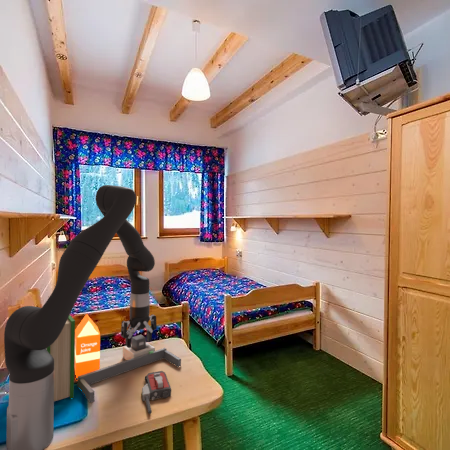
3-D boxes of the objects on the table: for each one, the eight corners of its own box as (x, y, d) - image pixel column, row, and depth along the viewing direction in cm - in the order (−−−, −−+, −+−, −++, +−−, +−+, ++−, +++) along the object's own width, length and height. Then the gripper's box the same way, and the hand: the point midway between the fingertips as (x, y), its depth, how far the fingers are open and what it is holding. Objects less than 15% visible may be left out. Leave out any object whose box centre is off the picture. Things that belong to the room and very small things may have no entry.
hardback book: (73, 398, 91) (75, 320, 90) (45, 407, 86) (47, 325, 86) (61, 374, 105) (62, 306, 104) (37, 381, 100) (38, 310, 99)
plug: (136, 361, 115) (136, 340, 115) (131, 357, 118) (131, 337, 118) (145, 357, 118) (146, 337, 118) (140, 354, 121) (140, 334, 121)
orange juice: (97, 364, 112) (98, 311, 112) (99, 375, 105) (100, 318, 104) (73, 368, 108) (74, 314, 108) (75, 380, 101) (76, 322, 100)
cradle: (90, 402, 89) (90, 389, 89) (77, 386, 97) (77, 374, 97) (180, 366, 112) (181, 355, 112) (164, 356, 120) (164, 346, 120)
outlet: (133, 366, 112) (133, 354, 112) (122, 357, 118) (123, 346, 118) (154, 358, 118) (154, 347, 118) (143, 351, 124) (143, 340, 124)
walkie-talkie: (138, 381, 102) (146, 418, 83) (139, 369, 102) (146, 403, 83) (164, 377, 105) (177, 411, 86) (164, 364, 105) (177, 396, 86)
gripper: (127, 309, 110) (126, 352, 110) (160, 302, 120) (159, 342, 120) (118, 304, 115) (117, 346, 116) (150, 298, 125) (150, 336, 126)
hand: (139, 344), depth 118 cm, fingers open, 8 cm apart
